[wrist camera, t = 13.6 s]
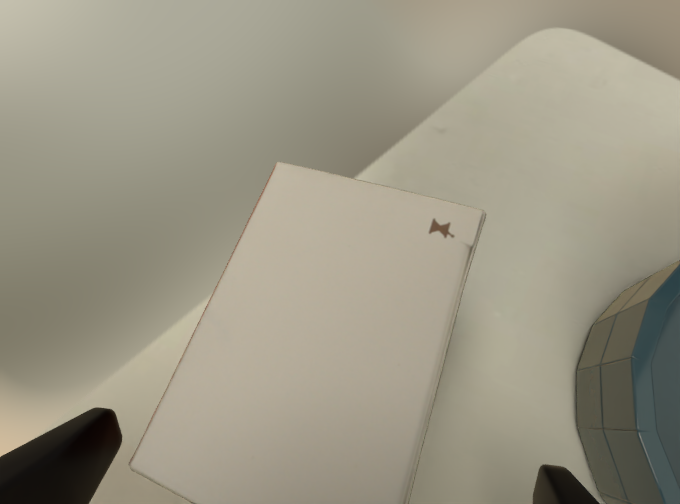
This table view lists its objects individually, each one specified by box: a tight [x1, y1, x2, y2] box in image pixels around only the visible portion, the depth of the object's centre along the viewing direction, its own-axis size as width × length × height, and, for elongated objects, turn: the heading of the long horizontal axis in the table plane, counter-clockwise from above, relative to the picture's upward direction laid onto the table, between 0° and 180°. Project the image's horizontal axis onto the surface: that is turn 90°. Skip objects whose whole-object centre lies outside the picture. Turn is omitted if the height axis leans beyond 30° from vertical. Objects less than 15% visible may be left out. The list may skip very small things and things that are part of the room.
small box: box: [129, 162, 486, 504], centre depth 13 cm, size 8×6×10 cm
